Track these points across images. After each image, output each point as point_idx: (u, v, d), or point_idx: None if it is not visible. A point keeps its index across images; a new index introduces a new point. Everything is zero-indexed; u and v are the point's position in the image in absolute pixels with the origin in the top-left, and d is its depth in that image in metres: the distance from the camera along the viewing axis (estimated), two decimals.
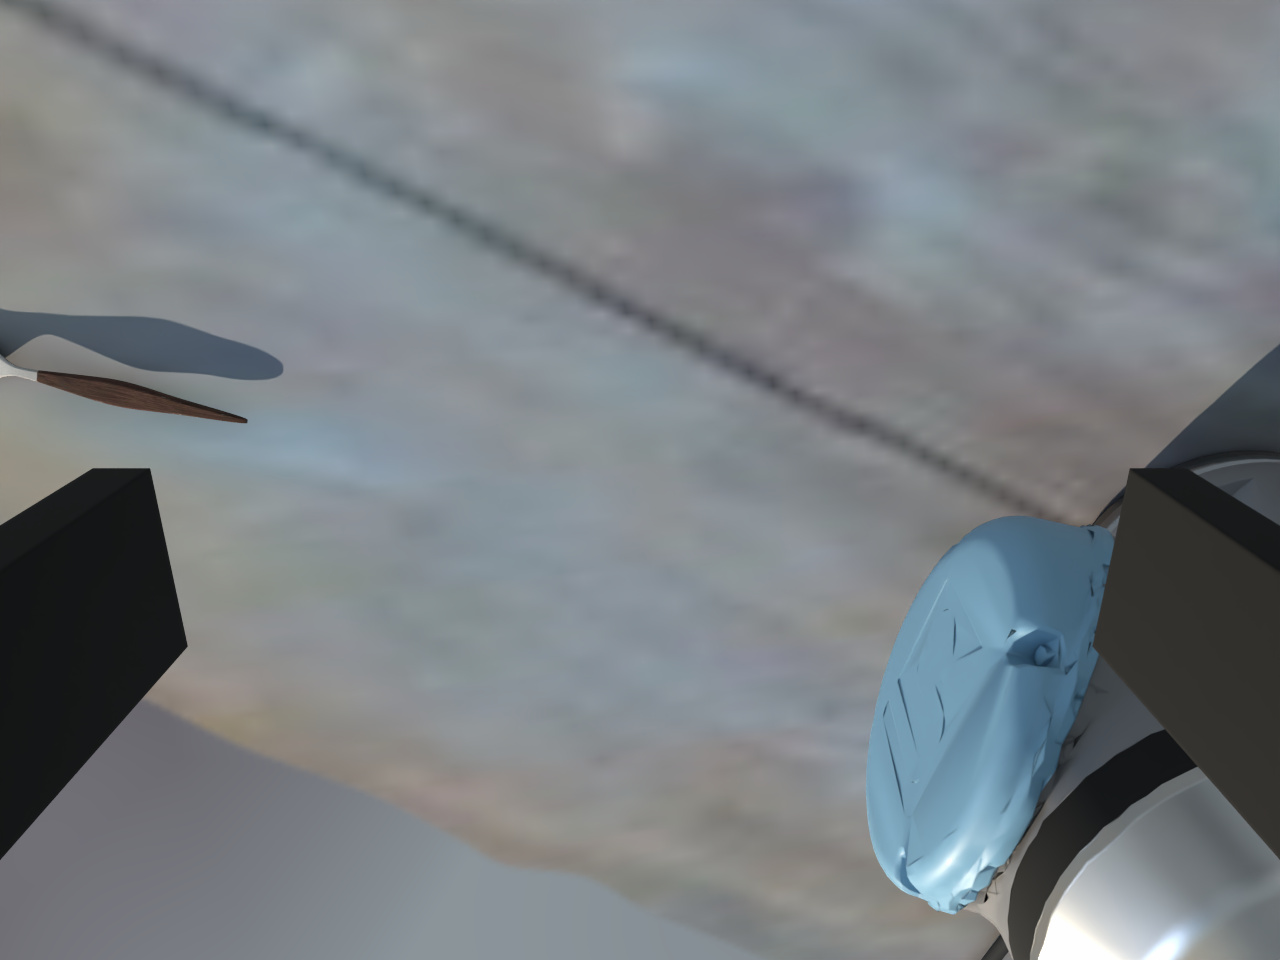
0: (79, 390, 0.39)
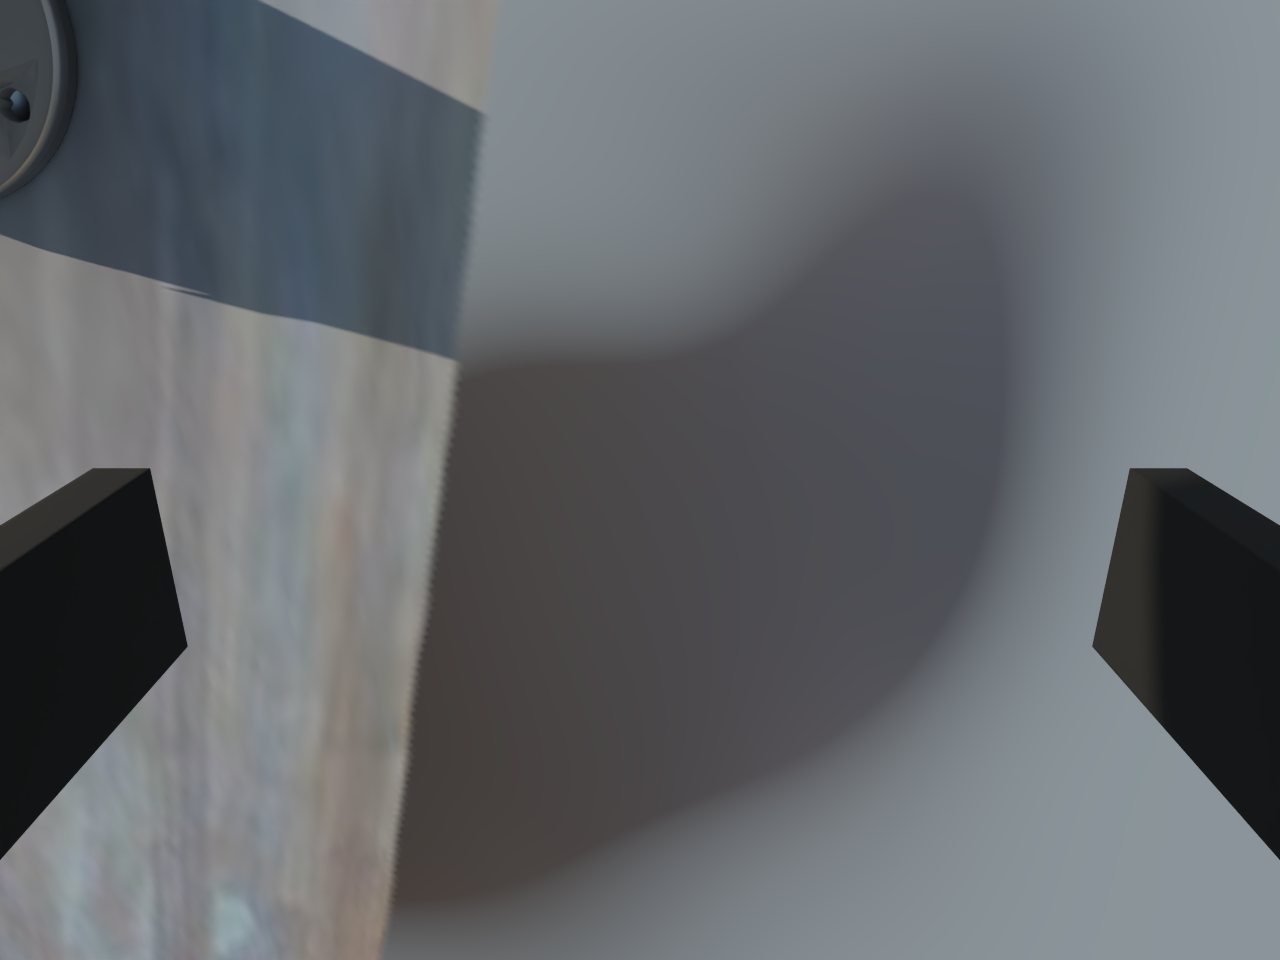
0: None
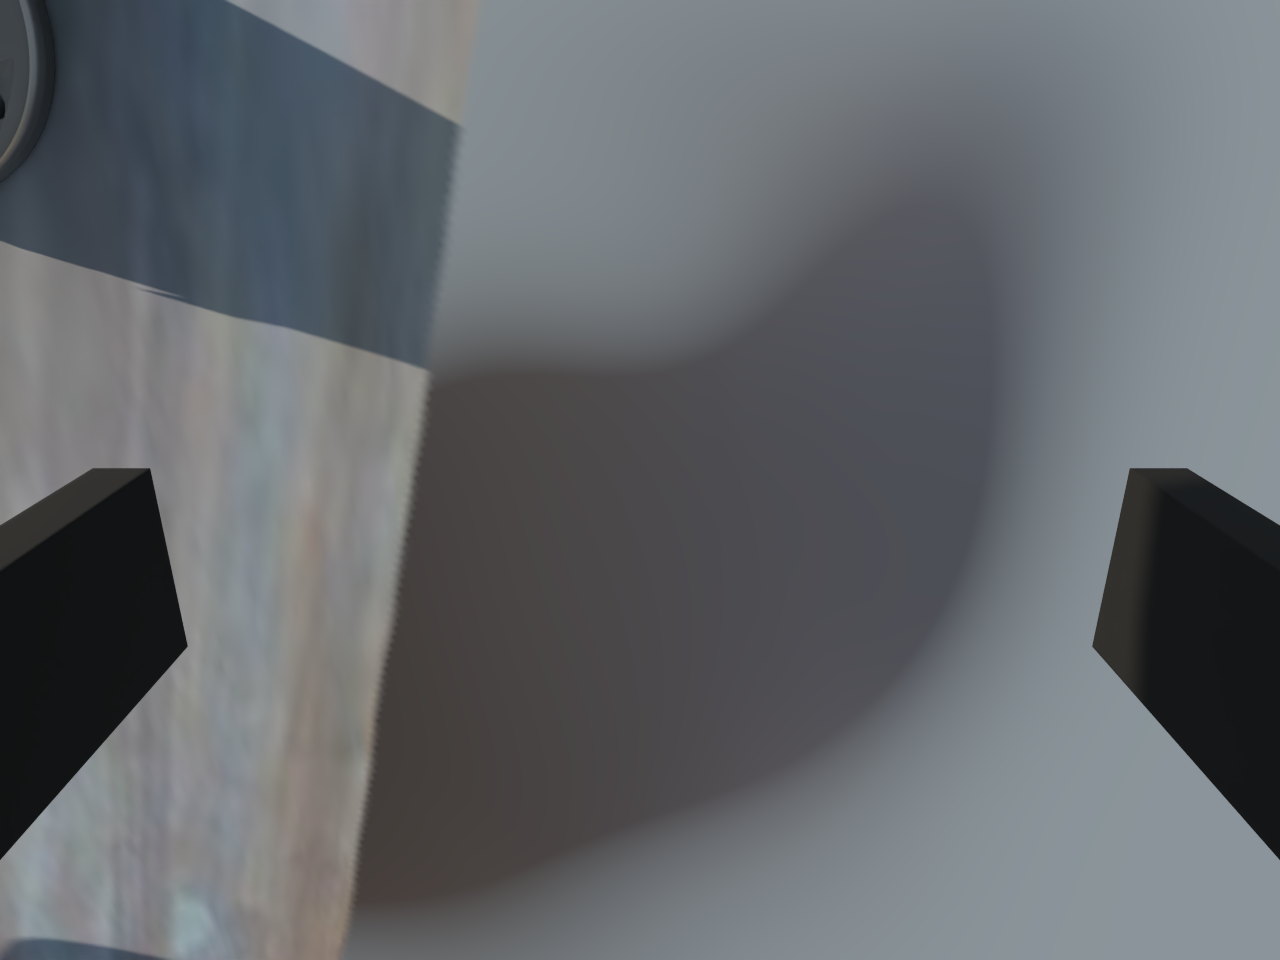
0: None
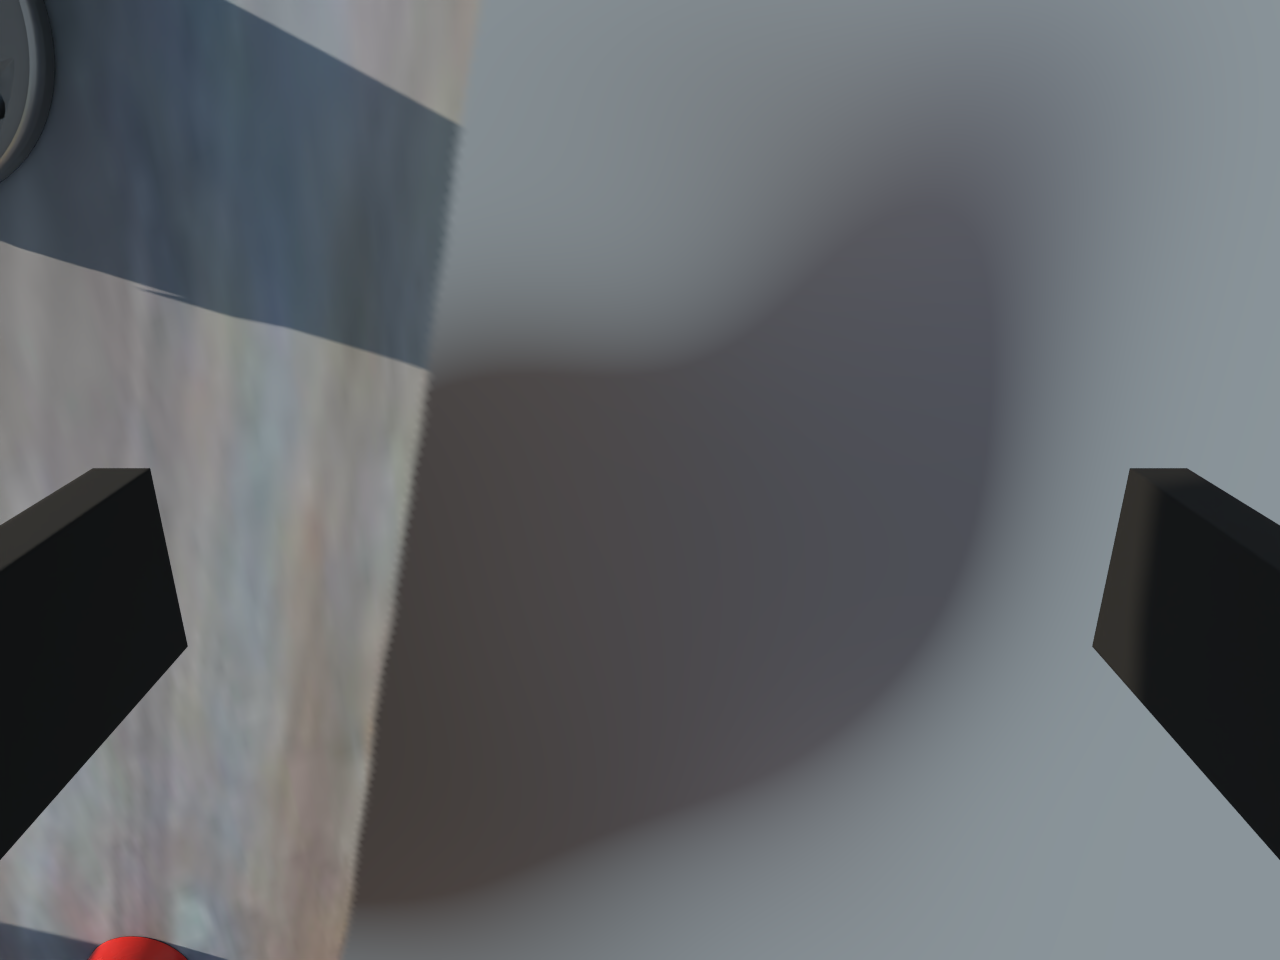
0: None
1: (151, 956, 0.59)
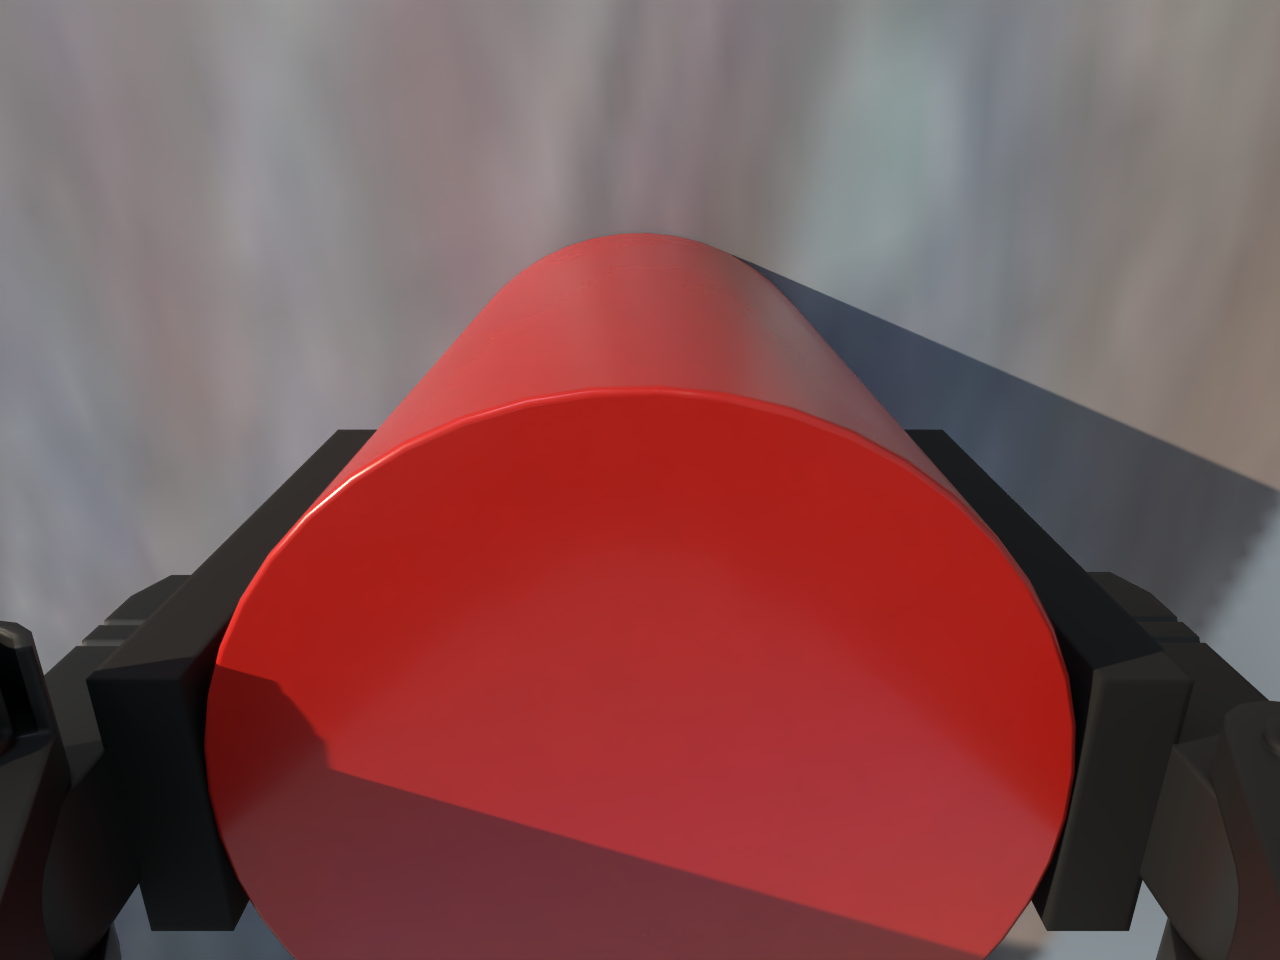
0: None
1: (749, 269, 0.15)
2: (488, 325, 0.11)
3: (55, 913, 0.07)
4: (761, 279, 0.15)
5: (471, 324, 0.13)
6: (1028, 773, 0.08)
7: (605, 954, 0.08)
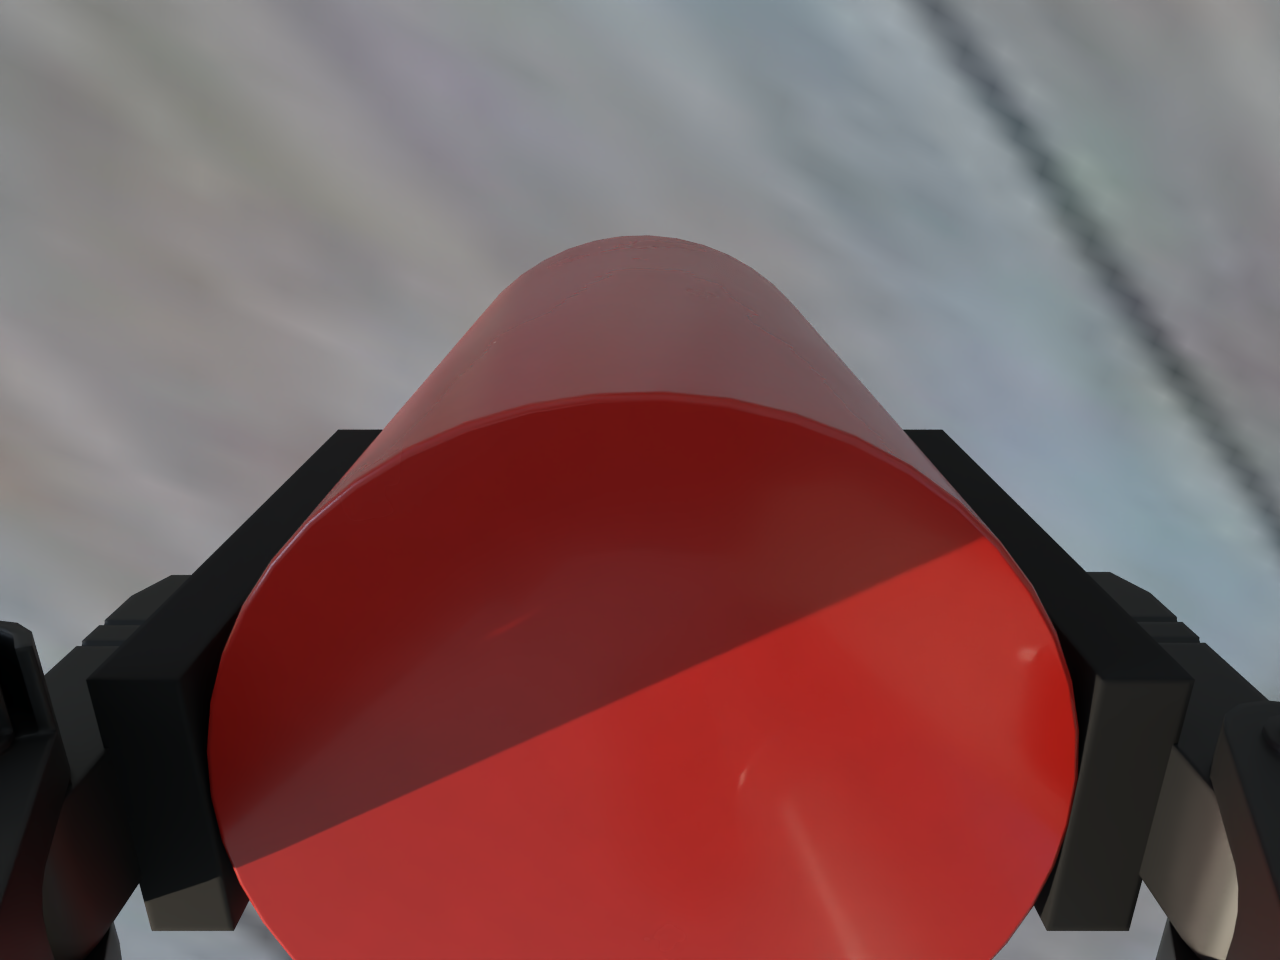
0: None
1: (750, 271, 0.15)
2: (490, 329, 0.11)
3: (56, 912, 0.07)
4: (762, 281, 0.15)
5: (473, 327, 0.13)
6: (1032, 778, 0.08)
7: (607, 959, 0.08)
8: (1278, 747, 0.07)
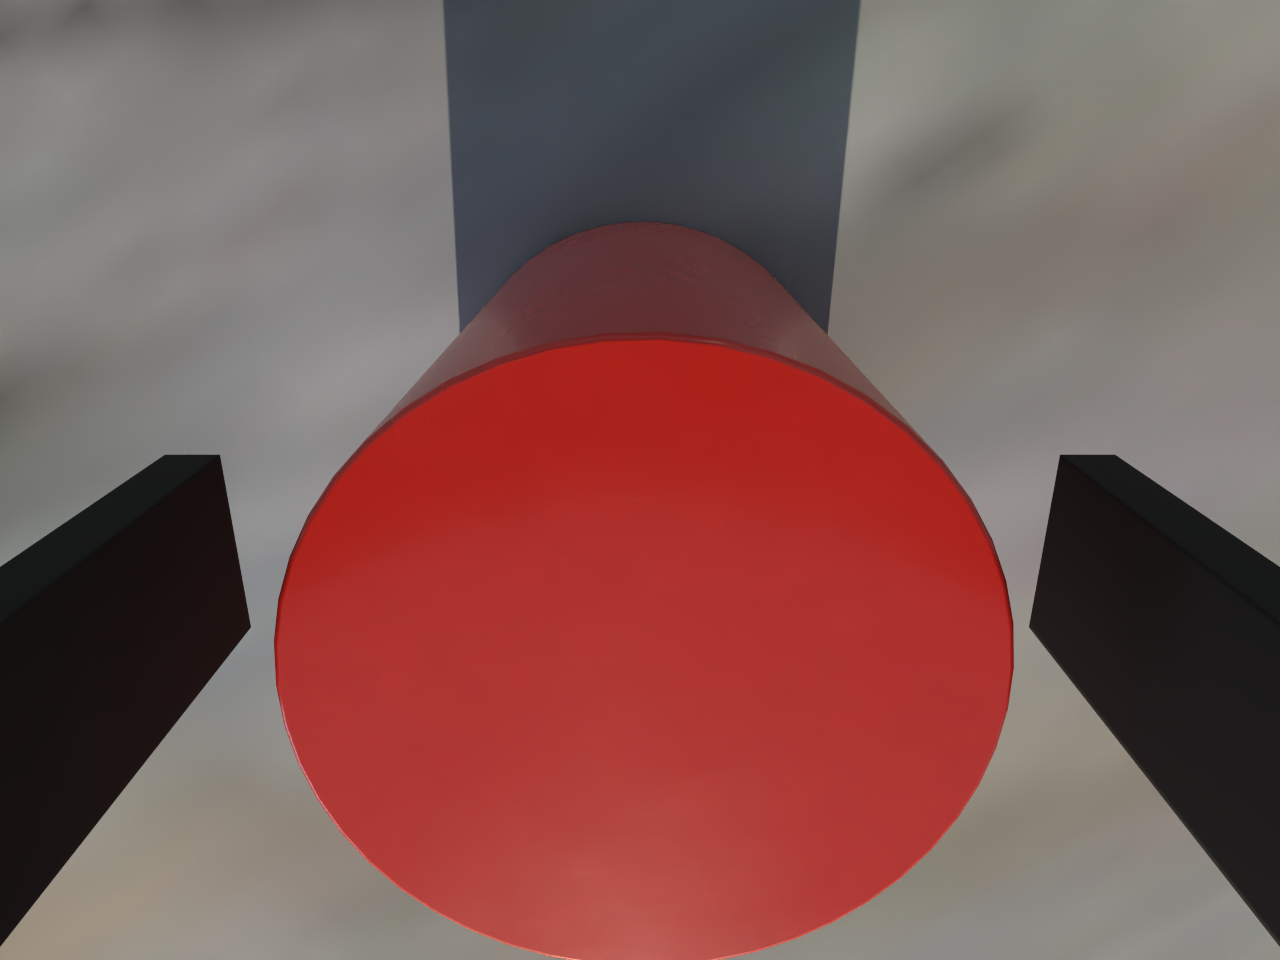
0: None
1: (742, 254, 0.16)
2: (508, 298, 0.12)
3: None
4: (753, 263, 0.16)
5: (489, 301, 0.14)
6: (973, 669, 0.09)
7: (614, 833, 0.10)
8: None
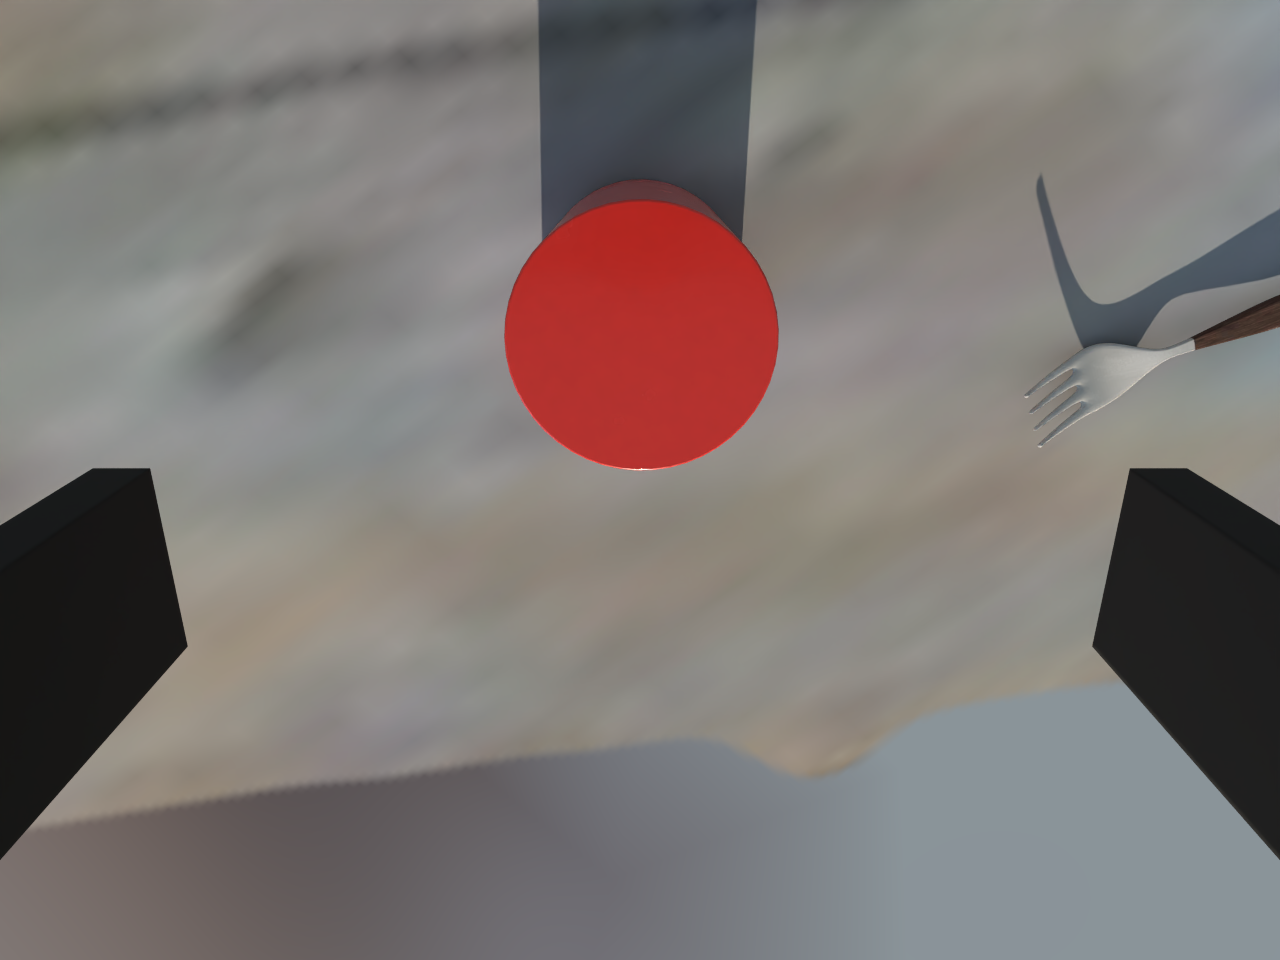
0: (1247, 330, 0.34)
1: (692, 194, 0.32)
2: (581, 204, 0.27)
3: None
4: (698, 198, 0.31)
5: (567, 213, 0.30)
6: (763, 329, 0.24)
7: (629, 403, 0.25)
8: None
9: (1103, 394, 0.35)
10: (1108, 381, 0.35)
